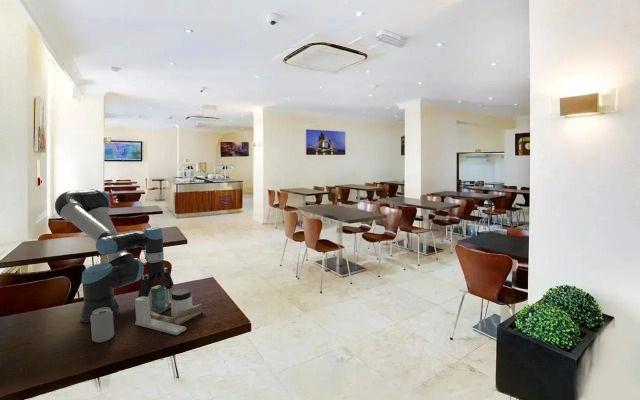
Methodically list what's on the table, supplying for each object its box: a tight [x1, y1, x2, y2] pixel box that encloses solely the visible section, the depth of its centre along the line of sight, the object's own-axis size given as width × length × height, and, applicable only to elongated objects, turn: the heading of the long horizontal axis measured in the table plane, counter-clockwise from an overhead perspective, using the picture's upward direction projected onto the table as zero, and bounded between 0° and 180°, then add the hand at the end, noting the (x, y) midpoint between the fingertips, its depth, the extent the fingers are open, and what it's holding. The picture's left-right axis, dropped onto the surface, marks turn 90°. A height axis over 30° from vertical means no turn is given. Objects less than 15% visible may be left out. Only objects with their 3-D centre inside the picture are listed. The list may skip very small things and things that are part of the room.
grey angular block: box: [134, 296, 187, 336], centre depth 141 cm, size 24×5×11 cm, turn 67°
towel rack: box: [150, 284, 203, 326], centre depth 152 cm, size 22×14×12 cm
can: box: [90, 307, 115, 343], centre depth 132 cm, size 8×8×12 cm
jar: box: [170, 288, 193, 318], centre depth 151 cm, size 9×8×12 cm
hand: (157, 306), depth 156 cm, fingers open, 10 cm apart
